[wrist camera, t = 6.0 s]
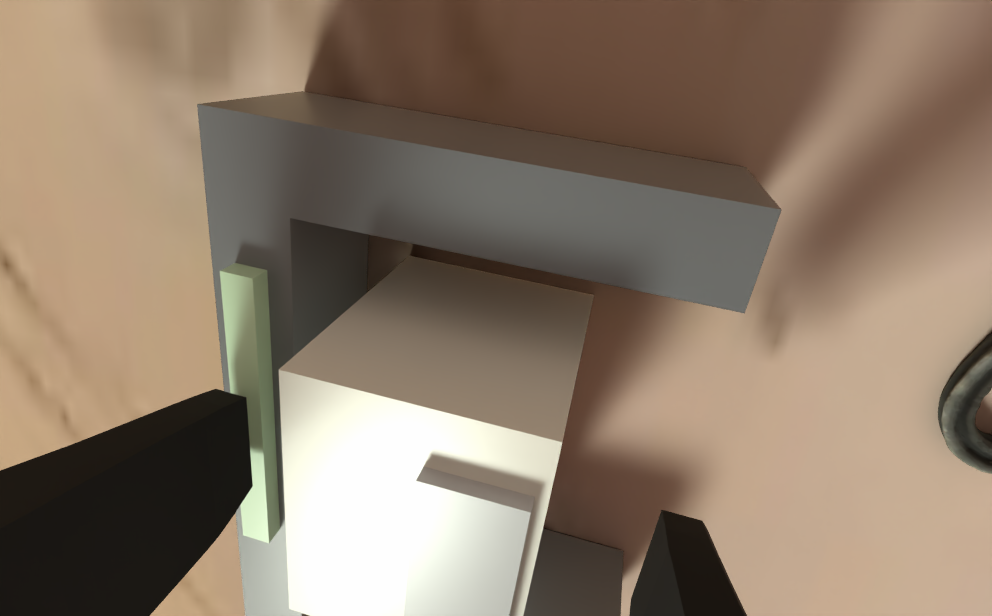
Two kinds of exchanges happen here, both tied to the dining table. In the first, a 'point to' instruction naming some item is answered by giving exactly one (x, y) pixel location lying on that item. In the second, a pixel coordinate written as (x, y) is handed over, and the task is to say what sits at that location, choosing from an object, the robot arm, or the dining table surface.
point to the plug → (427, 443)
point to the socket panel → (446, 226)
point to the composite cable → (968, 408)
